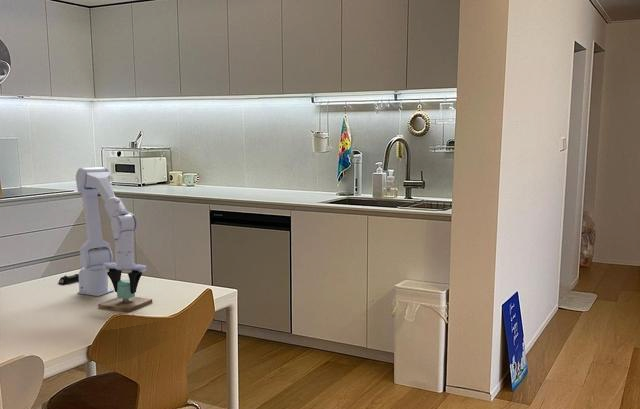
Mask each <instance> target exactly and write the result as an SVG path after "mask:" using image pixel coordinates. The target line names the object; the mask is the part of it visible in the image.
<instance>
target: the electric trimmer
mask: <svg viewBox="0 0 640 409" xmlns="http://www.w3.org/2000/svg"><path fill="white" fill-rule="evenodd" d="M73 282H74V283H75V282H79V273H75V274H72V275H68V276H67V275H64V276H61V277H60V278H59V280H58V284H59V285H61V286H65V285H67V284H70V283H73Z"/></svg>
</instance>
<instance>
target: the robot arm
mask: <svg viewBox="0 0 640 409" xmlns="http://www.w3.org/2000/svg"><path fill="white" fill-rule="evenodd" d="M75 182H76V189H77V192H78V193H79V194H81V196H82V197H81V198H82V207H83V215H84V221H85V222H84V223H85V231H86V238H87V240H86V241H85V242H84V243H83V244H82V245H81V246H80V247H79V249H80V250H79V263H80V265H81V267H82V268H80V270H79V273H78V274H79V281H78V291H77V294H82V295H87V296H95V297H100V296H102V295H106V294H108V293H112V292H114V293H117V282H118V281H120V280H122V272H123V271H126V272H128V273H127V276H128V280H130V291H131V294H133V293H135V294H136V293H137V289H138V285H139V281H140V279H141V277H142V275H143V273H145V272H147V265H146V264H138V263H135V253H134V249H135V248H134V247H135V246H134V244H135V243H134V232H135V231H136V230H137V223H138V221H137V219H136V216H135V214H134V213H131V211H128V210H127V208H126V206H125V204H124V203H123V201H122V199H121V198H120V197H117V196H116V195H115V193H114V190H113V188H112V185H111V173H110V170H109V168H108V167H106V166H103V167H101V166H100V167H99V166H98V167H79V168H78V170H77V171H76V173H75ZM98 195H100V196H101V198H102V199H103V201H104V202H105V203H104V209H105V211H106V213H107V215H108V217H109V218H110V220H111V223H110V226H111V230H112V236H113V237H112V238H114V250H115V252H114V253H115V256H114V254H113V252H112V249H111V243H109V242H108V241H106V240H104V239H103V233H102V224H101V216H100V208H99V198H98ZM114 258H115V262H113V261H114ZM109 279H110V281H111V284H112V287H113V289H112V288H109Z"/></svg>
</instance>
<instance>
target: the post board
mask: <svg viewBox="0 0 640 409" xmlns="http://www.w3.org/2000/svg"><path fill="white" fill-rule="evenodd" d="M150 304H151V305H152V304H153V298H146V297H141V296H139V297H138V296H135V297H132V298H127V299H122V298H118V297H117V296H116V297H115V298H112V299H111V298H110V299H109V300H107V301H103V302H101V303H98V304H97V308H98V309H103V310H108V311H109V310H110V311H115V312H116V311H117V312H122V313H123V312H124V313H131V312H134V311H136V310H138V309H141V308H143V307H146V306H148V305H150Z"/></svg>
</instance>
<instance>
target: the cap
mask: <svg viewBox="0 0 640 409" xmlns="http://www.w3.org/2000/svg"><path fill="white" fill-rule="evenodd" d="M117 297H118V298H122V299H127V298H132V297H136V292H135V293H133V294H131V291H130V280H129V279H121V280H120V281H118V282H117V292H116V298H117Z"/></svg>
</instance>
